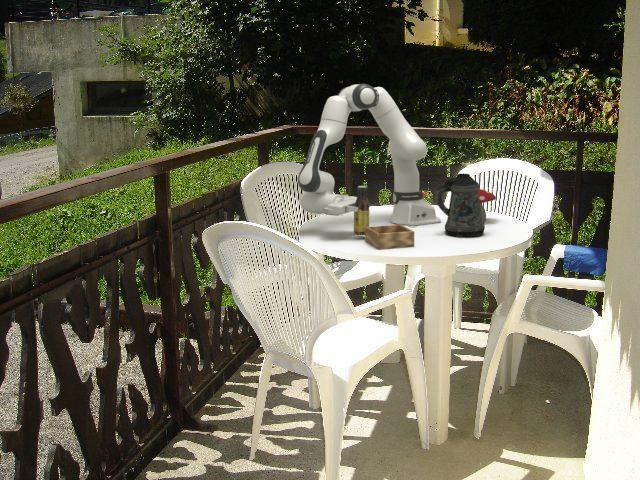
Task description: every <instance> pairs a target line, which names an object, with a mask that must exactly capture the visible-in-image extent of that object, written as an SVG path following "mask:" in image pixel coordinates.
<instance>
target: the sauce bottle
mask: <svg viewBox="0 0 640 480" xmlns="http://www.w3.org/2000/svg"><path fill="white" fill-rule="evenodd" d="M356 190H357V196H356V197H357V199H356V202H355V205H354V207H359V211H357V212H355V211H353V233H354V235H355V236H365V227H370V201H369V199H368V194H367V193H368V186H367V185H358V186H357V188H356Z"/></svg>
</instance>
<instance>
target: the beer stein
mask: <svg viewBox="0 0 640 480" xmlns="http://www.w3.org/2000/svg"><path fill="white" fill-rule="evenodd" d="M480 187H481V186H480V183H478V182H477V181H476V180H475V179H473V177H472V176H471V175H470V174H469V173H457V174H456V176H454V177H451V178H446V179H445V180H444V184H442V185H441V186H439V187H437V188H436V192H435V201H436V205H438V207H439V209H440V210H441V211H442V212H443V213H444V214H445V215H446V216H447V219H446V222H445V223H444V230H445V235H446V236H449V237H453V238H461V239H473V238H479V237H482V235H483V236H484V232H485V228H486V225H485V223H484V222H483V220H482V216H481V210H480V203H479V196H478V190H479V189H480ZM445 192H447V193H449V192H450V200H449V205H448V206H449V207H447V206H446V205H445V203H444V202H443V200H442V194H443V193H445Z"/></svg>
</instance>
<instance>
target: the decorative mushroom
mask: <svg viewBox="0 0 640 480" xmlns="http://www.w3.org/2000/svg"><path fill="white" fill-rule="evenodd" d="M478 196H479V203H480V210H481V216H482V220H483V223H484V222H486V220H487V213H486V209H485V207H484V206H483V204H485V203H487V202H491V201H495V200H496V199H497V197H496V195H495V194H493V193H492V192H491V191H488V190H485V189H482V188H479V190H478Z"/></svg>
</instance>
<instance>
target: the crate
mask: <svg viewBox="0 0 640 480" xmlns="http://www.w3.org/2000/svg"><path fill="white" fill-rule="evenodd" d="M364 236H365V237H364V238H365V242H366V243H367V244H368V245H370V246H371V247H373V248H375V249H376V250H378V251H379V250H390V249H402V248H415V231H414V230H412V229H410V228H408V227H406V226H405V225H404V224H389V225H388V224H386V225H375V226H369V227H365V235H364Z"/></svg>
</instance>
